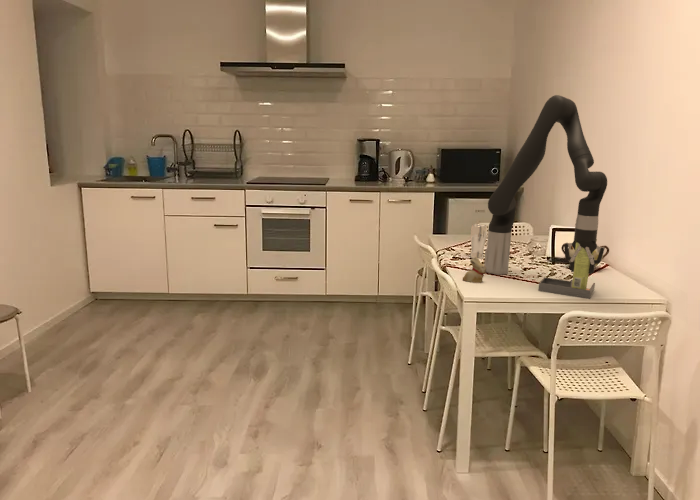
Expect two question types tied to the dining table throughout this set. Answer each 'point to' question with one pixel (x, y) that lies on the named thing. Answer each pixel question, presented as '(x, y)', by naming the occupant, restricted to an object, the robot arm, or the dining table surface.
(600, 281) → the dining table surface
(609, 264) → the dining table surface
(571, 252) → the sugar bowl
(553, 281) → the channel
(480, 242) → the beer glass
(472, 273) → the chocolate bunny
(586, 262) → the tube
